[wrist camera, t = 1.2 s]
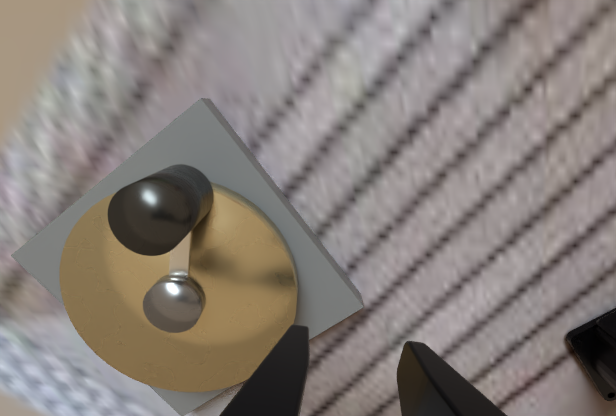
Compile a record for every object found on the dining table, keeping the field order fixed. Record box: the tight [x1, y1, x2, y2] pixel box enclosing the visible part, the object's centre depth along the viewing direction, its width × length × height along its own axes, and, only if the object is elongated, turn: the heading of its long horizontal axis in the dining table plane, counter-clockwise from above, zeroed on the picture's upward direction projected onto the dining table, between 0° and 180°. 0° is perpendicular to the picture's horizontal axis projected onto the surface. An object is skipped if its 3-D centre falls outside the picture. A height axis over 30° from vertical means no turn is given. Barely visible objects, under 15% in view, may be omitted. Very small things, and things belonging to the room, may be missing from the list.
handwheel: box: [59, 164, 298, 392], centre depth 18 cm, size 13×13×6 cm
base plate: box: [11, 98, 364, 416], centre depth 21 cm, size 15×15×2 cm
